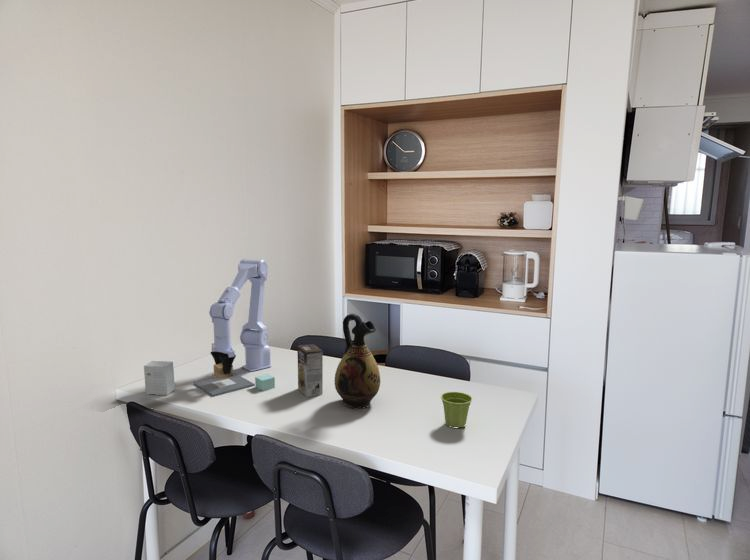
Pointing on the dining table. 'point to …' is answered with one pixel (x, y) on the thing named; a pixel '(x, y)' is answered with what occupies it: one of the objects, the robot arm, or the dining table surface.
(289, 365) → the dining table surface
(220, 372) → the brick walnut
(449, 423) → the plant pot
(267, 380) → the brick teal
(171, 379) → the small box
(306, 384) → the coffee box
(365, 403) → the ceramic jug
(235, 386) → the baseplate
